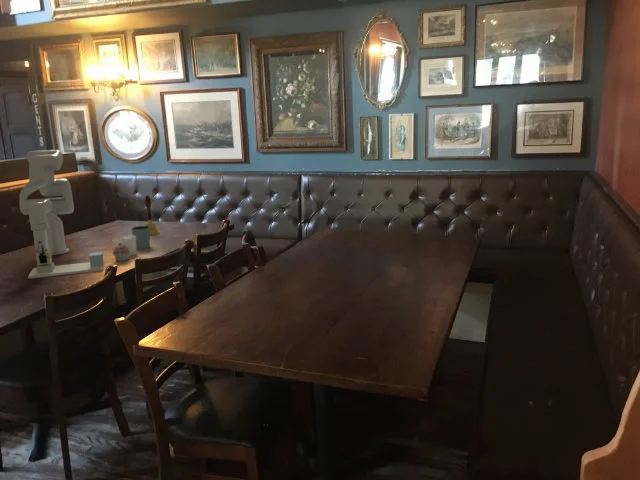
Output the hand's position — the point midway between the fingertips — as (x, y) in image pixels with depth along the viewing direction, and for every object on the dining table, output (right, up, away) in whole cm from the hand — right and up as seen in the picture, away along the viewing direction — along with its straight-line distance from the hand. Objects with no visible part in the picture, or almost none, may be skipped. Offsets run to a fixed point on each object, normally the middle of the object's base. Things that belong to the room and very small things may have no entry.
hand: (44, 261), depth 269 cm
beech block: (0, -1, 0) cm, 1 cm away
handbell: (+27, +15, +84) cm, 90 cm away
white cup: (+31, +2, +33) cm, 46 cm away
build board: (+10, -5, +5) cm, 12 cm away
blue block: (+23, -2, +9) cm, 24 cm away
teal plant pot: (+33, +6, +48) cm, 59 cm away
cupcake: (+31, -1, +21) cm, 38 cm away
